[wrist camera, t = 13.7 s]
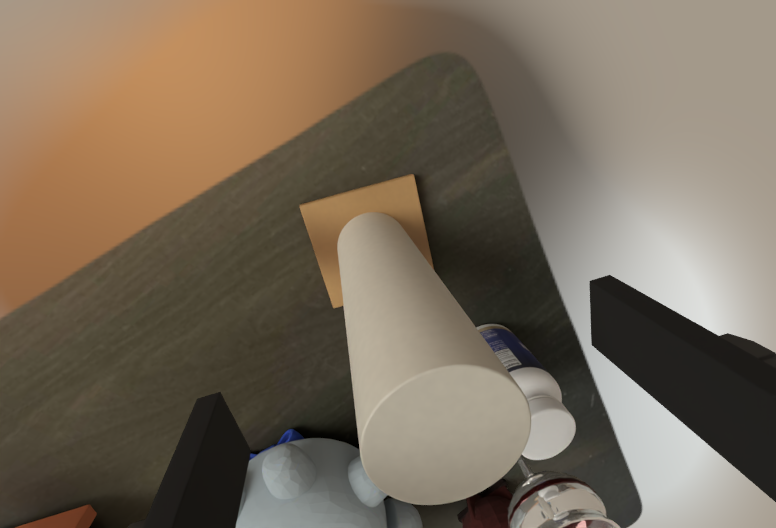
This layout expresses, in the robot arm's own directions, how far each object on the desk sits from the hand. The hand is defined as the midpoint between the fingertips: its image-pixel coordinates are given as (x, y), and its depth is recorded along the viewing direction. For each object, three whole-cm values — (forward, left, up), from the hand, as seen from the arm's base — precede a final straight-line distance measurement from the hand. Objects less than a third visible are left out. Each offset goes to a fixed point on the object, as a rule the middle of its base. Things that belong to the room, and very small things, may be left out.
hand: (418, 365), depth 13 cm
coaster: (0, 0, -16) cm, 16 cm away
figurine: (+22, -11, -16) cm, 29 cm away
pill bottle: (+12, +7, -16) cm, 21 cm away
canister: (0, 0, -15) cm, 15 cm away
